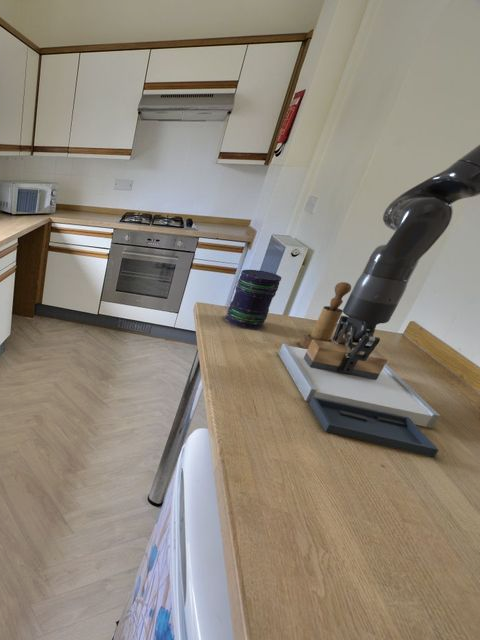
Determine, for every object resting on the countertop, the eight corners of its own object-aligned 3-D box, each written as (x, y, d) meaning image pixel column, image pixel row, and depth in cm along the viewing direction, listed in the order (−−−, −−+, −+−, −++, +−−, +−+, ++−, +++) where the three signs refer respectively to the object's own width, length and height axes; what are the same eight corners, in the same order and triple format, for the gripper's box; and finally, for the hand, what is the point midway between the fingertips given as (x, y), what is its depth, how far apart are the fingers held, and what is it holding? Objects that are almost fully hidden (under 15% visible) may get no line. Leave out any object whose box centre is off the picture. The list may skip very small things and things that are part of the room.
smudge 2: (406, 424, 76) (404, 426, 77) (403, 421, 77) (401, 423, 78) (379, 418, 78) (378, 420, 78) (376, 415, 79) (375, 417, 79)
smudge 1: (364, 418, 78) (366, 416, 78) (366, 421, 77) (367, 419, 77) (338, 411, 80) (339, 409, 80) (340, 414, 79) (341, 412, 79)
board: (377, 372, 97) (383, 361, 96) (432, 428, 77) (440, 415, 76) (278, 353, 104) (282, 343, 103) (305, 400, 84) (311, 388, 83)
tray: (404, 424, 78) (408, 417, 77) (433, 457, 70) (438, 449, 69) (309, 403, 83) (312, 396, 83) (325, 431, 75) (329, 424, 74)
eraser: (366, 370, 92) (377, 350, 90) (376, 380, 88) (387, 359, 86) (303, 358, 97) (312, 339, 94) (309, 367, 92) (319, 347, 90)
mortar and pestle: (306, 351, 106) (337, 285, 98) (295, 341, 112) (322, 277, 104) (336, 355, 105) (369, 288, 97) (322, 344, 110) (352, 280, 103)
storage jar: (240, 315, 128) (256, 268, 122) (270, 327, 120) (290, 278, 114) (217, 318, 125) (233, 270, 118) (247, 331, 117) (266, 280, 110)
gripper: (415, 310, 78) (373, 386, 85) (382, 290, 90) (347, 358, 97) (366, 303, 80) (329, 378, 88) (340, 284, 92) (309, 351, 100)
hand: (338, 367), depth 92 cm, fingers closed on eraser, 5 cm apart
